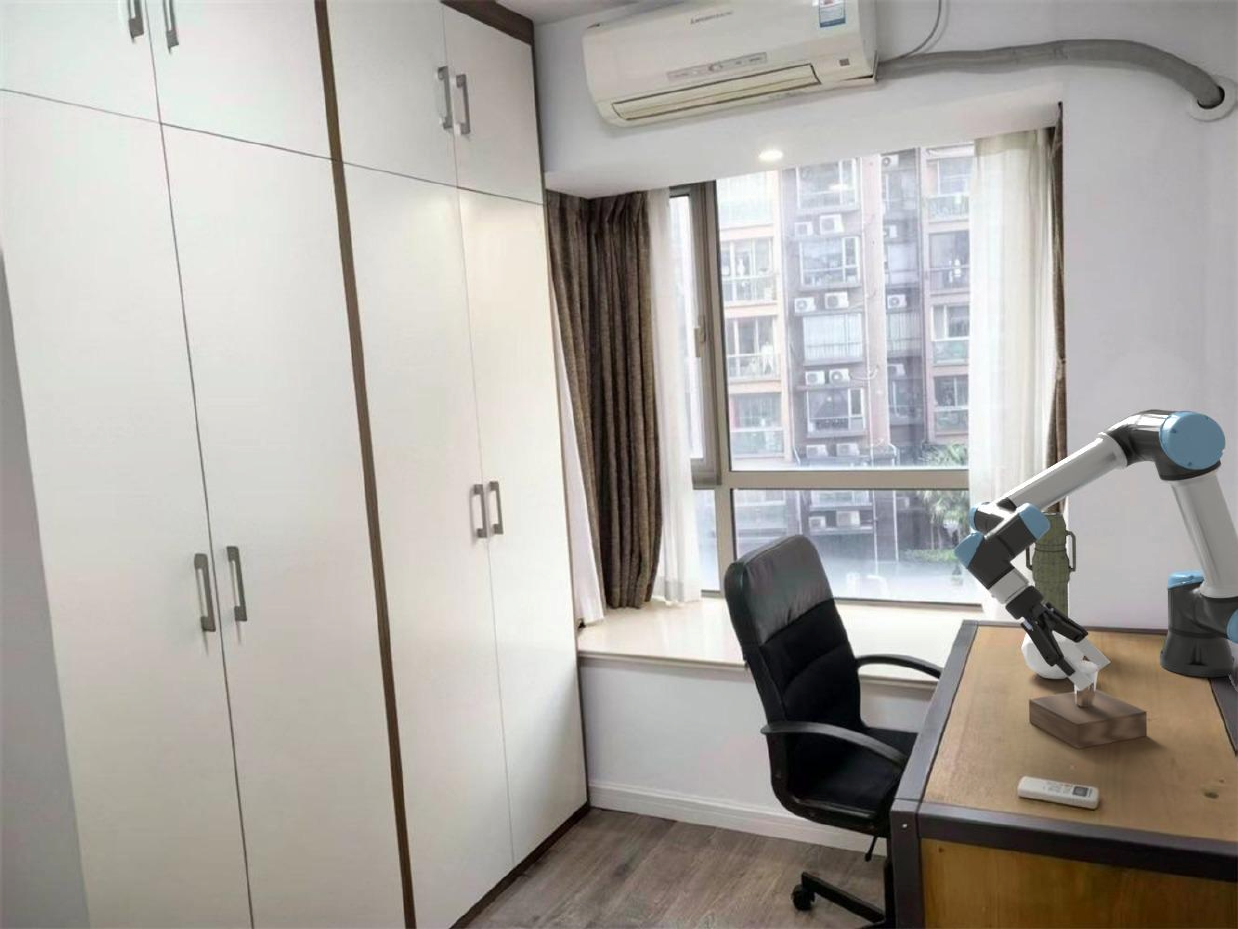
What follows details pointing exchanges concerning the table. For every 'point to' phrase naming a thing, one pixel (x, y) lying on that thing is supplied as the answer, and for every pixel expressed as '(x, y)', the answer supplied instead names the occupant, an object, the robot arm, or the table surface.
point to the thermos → (1053, 563)
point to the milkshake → (1087, 694)
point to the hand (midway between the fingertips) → (1096, 676)
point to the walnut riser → (1088, 719)
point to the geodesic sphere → (1040, 665)
